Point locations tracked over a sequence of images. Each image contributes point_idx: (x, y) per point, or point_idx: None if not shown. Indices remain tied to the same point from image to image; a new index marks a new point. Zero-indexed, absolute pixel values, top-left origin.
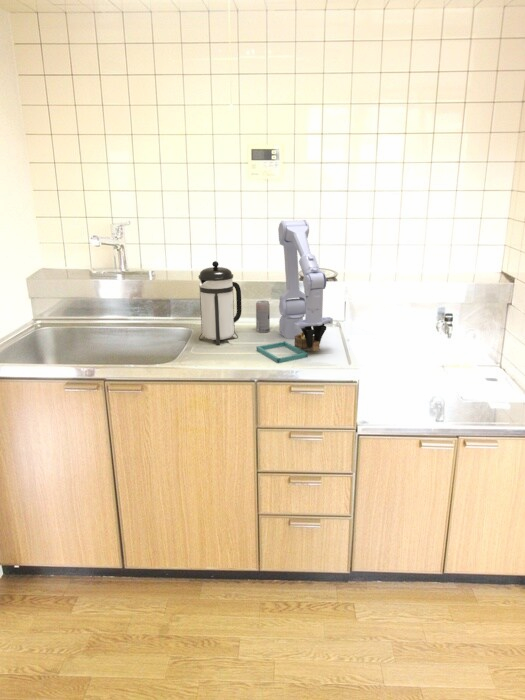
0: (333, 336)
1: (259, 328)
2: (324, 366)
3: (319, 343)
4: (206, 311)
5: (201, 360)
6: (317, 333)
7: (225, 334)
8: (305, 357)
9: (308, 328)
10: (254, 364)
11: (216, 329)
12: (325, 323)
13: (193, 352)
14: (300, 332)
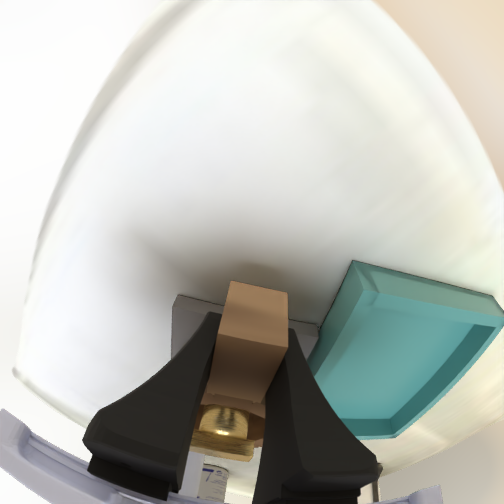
0: (39, 348)
1: (225, 480)
2: (378, 89)
3: (205, 324)
4: None
5: (484, 416)
6: (194, 415)
7: None
8: (372, 274)
9: (328, 498)
10: (492, 352)
11: (377, 498)
12: (66, 458)
13: (442, 448)
14: (248, 460)
